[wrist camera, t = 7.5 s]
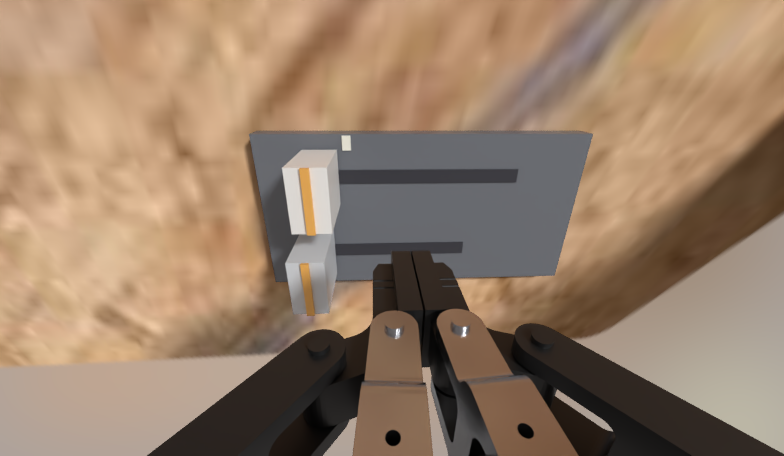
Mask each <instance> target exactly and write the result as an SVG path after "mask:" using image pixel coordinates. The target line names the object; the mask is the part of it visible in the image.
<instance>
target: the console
mask: <svg viewBox="0 0 784 456" xmlns="http://www.w3.org/2000/svg"><path fill="white" fill-rule="evenodd" d="M592 136H593V134H591V133H587V132H583V131H255V132H253V133H250V134H249V137H250V142H251V148H252V153H253V159H254V164H255V170H256V175H257V181H258V186H259V192H260V197H261V203H262V208H263V214H264V219H265V225H266V230H267V236H268V241H269V247H270V252H271V258H272V263H273V269H274V274H275V280H276V282H288V278H287V272H286V266H285V263H286V261H287V259H288V257H289V255H290V253H291V251H292V249H293V247H294V245H295V242H296V240H297V238H298V236H299V234H291V227H290V220H289V213H288V206H287V199H286V192H285V186H284V179H283V172H282V167H284V166H285V165H286V164H287V163H288V162H289V161H290V160H291V159H292V158H293V157H294V156H295V155H296V154H298V153H299V152H300V151H301V150H337V159H338V174H339V188H340V203H341V204H340V208H339V212H338V215H337V219H336V222H335V226H334V239H335V251H336V264H337V276H336V281H340V280H373V270H374V269H375V268H376V266H377V265H378V264H391V251H410V252H411V251H415V250H430V252H431V255H432V258H433V261H434V263H440V262H444V263H445V264H446V265H447V266H448V267H449V268H451V269H452V271H453V274H454V276H455V278H467V277H510V276H552V275H555V272H556V268H557V264H558V261H559V257H560V253H561V250H562V246H563V242H564V239H565V235H566V231H567V228H568V224H569V220H570V217H571V213H572V209H573V205H574V202H575V198H576V194H577V191H578V187H579V183H580V180H581V176H582V172H583V169H584V165H585V161H586V158H587V154H588V150H589V147H590V143H591V139H592Z"/></svg>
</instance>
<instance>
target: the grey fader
mask: <svg viewBox="0 0 784 456" xmlns="http://www.w3.org/2000/svg"><path fill="white" fill-rule="evenodd" d="M285 266H286V272H287V278H288V284H289V290H290V297H291V303H292V309H293V314H307V316H315V314H322V313H329V312H330V307H331V302H332V297H333V291H334V286H335V281H336V276H337V264H336V251H335V239H334V230H333V233H332V234H316V236H307V234H299V236H298V238H297V240H296V242H295V245H294V247H293V249H292V251H291V253H290V255H289V257H288V259H287V261H286V263H285Z"/></svg>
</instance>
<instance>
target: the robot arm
mask: <svg viewBox="0 0 784 456" xmlns="http://www.w3.org/2000/svg"><path fill="white" fill-rule="evenodd" d="M422 367H430V370H431V375H432V377H431V392H432V396H433V399H434V403H435V406H436V410H437V414H438V417H439V421H440V425H441V428H442V432H443V436H444V439H445V443H446V447H447V450H448V456H784V454H783V453H781V452H779V451H777V450H775V449H773V448H771V447H769V446H768V445H766V444H764V443H762V442H760V441H758V440H757V439H754V438H753V437H751V436H749V435H747V434H746V433H744V432H742V431H740V430H738V429H736V428H734V427H733V426H731V425H729V424H727V423H725V422H723V421H721V420H720V419H718V418H716V417H714V416H712V415H710V414H708V413H706V412H705V411H703V410H701V409H699V408H697V407H695V406H694V405H692V404H690V403H688V402H686V401H684V400H683V399H681V398H679V397H677V396H675V395H673V394H671V393H669V392H668V391H666V390H664V389H662V388H660V387H659V386H657V385H655V384H653V383H651V382H649V381H647V380H645V379H644V378H642V377H640V376H638V375H636V374H634V373H632V372H631V371H629V370H627V369H625V368H623V367H621V366H620V365H618V364H616V363H614V362H612V361H610V360H609V359H607V358H605V357H603V356H601V355H599V354H597V353H595V352H594V351H592V350H590V349H588V348H586V347H584V346H583V345H581V344H579V343H577V342H575V341H573V340H572V339H570V338H568V337H566V336H564V335H562V334H560V333H559V332H557V331H555V330H553V329H551V328H549V327H546V326H544V325H540V324H532V323H530V324H523V325H521V326H519V327H518V328H517V329H516V331H515V335H513V334H508V333H503V332H498V331H494V330H491V329H488V328H486V326H485V325H484V323H483V321H482V320H481V319H480V318H479V317H478V316H477V315H475V314H474V313H472V312H470V311H469V309H468V306H467V304H466V302H465V299H464V297H463V295H462V292H461V290H460V288H459V287H458V283H457V281H456V279H455V276H454V274H453V271H452V269H451V268H449V267H448V266H447V265H446V264H445V263H444V262H440V263H434V261H433V258H432V255H431V252H430V250H415V251H411V252H410V251H391V264H378V265H377V266H376V268H375V269H374V270H373V320H372V322H371V324H370V326H369V327H368V328H367V329H366V330H365V331H363V332H362V333H360V334H358V335H355V336H352V337H349V338H346V339H344V338H343V337H342V336H341V335H340V334H339V333H337V332H335V331H332V330H327V329H321V330H315V331H312V332H309V333H307V334H305V335H304V336H302V337H301V338H300V339H298V340H297V341H296V342H294V343H293V344H292V345H290V346H289V347H288V348H287V349H285V350H284V351H283V352H281V353H280V354H279V355H277V356H276V357H275V358H274V359H272V360H271V361H270V362H268V363H267V364H266V365H265V366H263V367H262V368H261V369H259V370H258V371H257V372H255V373H254V374H253V375H251V376H250V377H249V378H248V379H246V380H245V381H244V382H242V383H241V384H240V385H238V386H237V387H236V388H235V389H233V390H232V391H231V392H229V393H228V394H227V395H225V396H224V397H223V398H221V399H220V400H219V401H218V402H216V403H215V404H214V405H212V406H211V407H210V408H208V409H207V410H206V411H205V412H203V413H202V414H201V415H200V416H198V417H197V418H195V419H194V420H193V421H192V422H190V423H189V424H188V425H186V426H185V427H184V428H182V429H181V430H180V431H178V432H177V433H176V434H175V435H173V436H172V437H171V438H169V439H168V440H167V441H165V442H164V443H163V444H162V445H160V446H159V447H158V448H156V449H155V450H154V451H152V452H151V453H150V454H149V455H147V456H323V454H324V453H325V452H326V451H327V450H328V448H329V447H330V446H331V444H333V442H334V441H335V440H336V439H337V438H338V436H339V435H340V434H341V433H342V431H343V430H344V429H345V428H346V426H347V424H348V422H349V419H352V418H355V417H357V423H356V431H355V439H354V448H353V456H433V451H432V440H431V430H430V419H429V408H428V398H427V389H426V383H423V376H422ZM557 389H558V390H559V391H561V392H562V393H564V394H565V395H567V396H568V397H570V398H571V399H573V400H574V401H576V402H577V403H579V404H580V405H582V406H583V407H585V408H586V409H588V410H589V411H591V412H593V413H594V414H595V415H597V416H598V417H600V418H602V419H603V420H604V421H606V423H608V424H609V426H610V427H611V428H612V429H613V431H614V432H612V431H607V430H605V429H603V428H601V427H600V426H598V425H597V424H595V423H594V422H592V421H591V420H589V419H588V418H586V417H585V416H583V415H582V414H581V413H579V412H578V411H576V410H575V409H573V408H572V407H570V406H569V405H567V404H566V403H564V402H563V401H561V400H560V399H558V398H557V397H555V393H556V391H557Z"/></svg>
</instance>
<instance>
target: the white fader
mask: <svg viewBox="0 0 784 456" xmlns="http://www.w3.org/2000/svg"><path fill="white" fill-rule="evenodd" d="M282 172H283V179H284V186H285V192H286V199H287V206H288V213H289V220H290V227H291V234H307V236H316V234H332V233H333V230H334V226H335V222H336V219H337V215H338V212H339V208H340V204H341V203H340V188H339V174H338V159H337V150H301V151H300V152H299V153H298V154H296V155H295V156H294V157H293V158H292V159H291V160H290V161H289V162H288V163H287V164H286V165H285V166H284V167H282Z"/></svg>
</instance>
